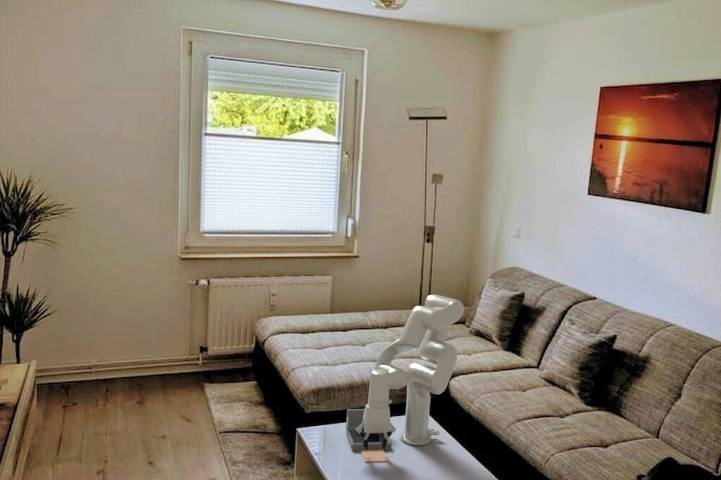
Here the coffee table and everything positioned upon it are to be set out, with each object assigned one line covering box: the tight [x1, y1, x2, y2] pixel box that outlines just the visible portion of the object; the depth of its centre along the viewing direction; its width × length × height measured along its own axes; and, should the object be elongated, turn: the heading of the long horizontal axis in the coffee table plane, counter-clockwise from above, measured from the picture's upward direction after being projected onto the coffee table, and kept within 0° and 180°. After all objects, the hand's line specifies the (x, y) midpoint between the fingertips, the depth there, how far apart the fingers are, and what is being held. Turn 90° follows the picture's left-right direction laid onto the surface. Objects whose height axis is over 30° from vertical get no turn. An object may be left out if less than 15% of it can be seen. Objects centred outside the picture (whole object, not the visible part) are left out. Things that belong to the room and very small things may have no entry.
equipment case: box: [345, 408, 392, 451], centre depth 244 cm, size 16×15×10 cm
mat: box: [360, 449, 390, 463], centre depth 232 cm, size 9×9×1 cm
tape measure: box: [362, 428, 381, 442], centre depth 246 cm, size 7×7×4 cm
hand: (374, 447), depth 232 cm, fingers open, 6 cm apart
